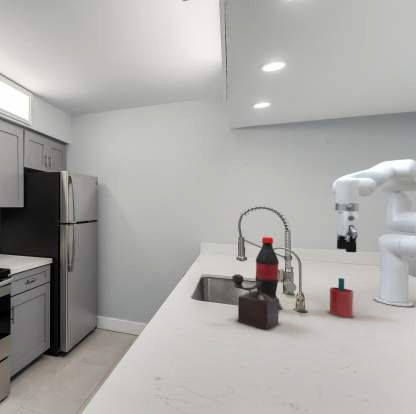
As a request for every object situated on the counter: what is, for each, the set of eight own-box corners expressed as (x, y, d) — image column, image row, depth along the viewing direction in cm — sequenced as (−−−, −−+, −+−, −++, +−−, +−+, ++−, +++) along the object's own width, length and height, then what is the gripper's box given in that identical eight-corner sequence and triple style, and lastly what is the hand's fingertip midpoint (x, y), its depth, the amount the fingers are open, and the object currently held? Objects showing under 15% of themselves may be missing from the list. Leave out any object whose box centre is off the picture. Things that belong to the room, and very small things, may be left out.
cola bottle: (275, 306, 134) (276, 236, 134) (279, 312, 126) (281, 238, 126) (253, 304, 137) (254, 235, 137) (256, 310, 129) (258, 237, 129)
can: (332, 310, 131) (333, 286, 131) (354, 315, 125) (355, 290, 125) (326, 313, 127) (327, 289, 127) (349, 319, 121) (350, 293, 121)
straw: (338, 312, 127) (339, 277, 127) (344, 313, 126) (344, 278, 126) (337, 313, 126) (337, 278, 126) (342, 314, 125) (343, 279, 125)
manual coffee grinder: (248, 315, 122) (249, 269, 122) (279, 324, 114) (280, 274, 114) (228, 324, 112) (229, 274, 112) (260, 334, 104) (261, 280, 104)
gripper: (367, 208, 117) (367, 254, 117) (349, 208, 133) (349, 248, 134) (343, 208, 120) (342, 252, 120) (328, 208, 136) (328, 247, 136)
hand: (346, 250), depth 127 cm, fingers open, 9 cm apart
